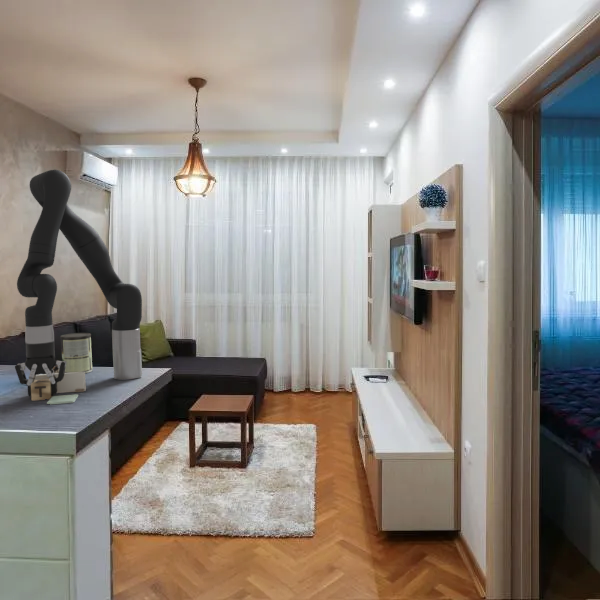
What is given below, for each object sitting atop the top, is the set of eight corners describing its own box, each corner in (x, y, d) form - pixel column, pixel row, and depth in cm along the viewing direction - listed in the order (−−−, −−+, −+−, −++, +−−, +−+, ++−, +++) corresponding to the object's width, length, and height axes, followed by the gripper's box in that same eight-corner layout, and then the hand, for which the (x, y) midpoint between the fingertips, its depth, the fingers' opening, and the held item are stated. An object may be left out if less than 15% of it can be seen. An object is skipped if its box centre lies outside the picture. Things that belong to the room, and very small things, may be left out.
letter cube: (54, 394, 144) (53, 378, 144) (50, 399, 140) (49, 382, 139) (36, 396, 143) (35, 379, 143) (31, 400, 138) (30, 383, 138)
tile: (78, 396, 143) (78, 394, 143) (73, 402, 136) (73, 400, 136) (52, 398, 141) (52, 396, 141) (47, 404, 134) (46, 402, 134)
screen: (86, 389, 151) (85, 370, 150) (84, 391, 148) (83, 373, 147) (34, 393, 147) (33, 374, 146) (31, 395, 144) (30, 376, 143)
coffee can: (57, 372, 175) (55, 335, 174) (83, 367, 183) (81, 332, 182) (71, 376, 169) (69, 337, 168) (98, 370, 177) (96, 334, 176)
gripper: (68, 337, 146) (71, 391, 147) (17, 339, 142) (20, 395, 143) (63, 341, 138) (66, 397, 140) (8, 343, 135) (12, 401, 136)
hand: (42, 396), depth 141 cm, fingers closed on letter cube, 5 cm apart
